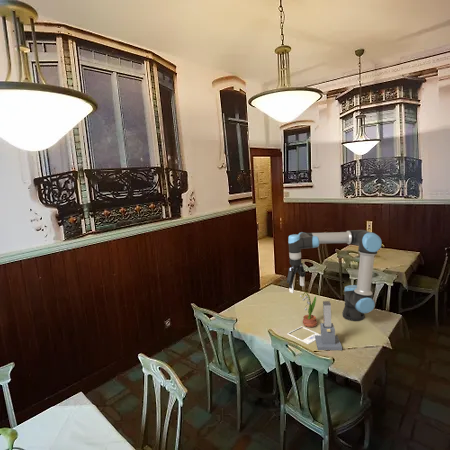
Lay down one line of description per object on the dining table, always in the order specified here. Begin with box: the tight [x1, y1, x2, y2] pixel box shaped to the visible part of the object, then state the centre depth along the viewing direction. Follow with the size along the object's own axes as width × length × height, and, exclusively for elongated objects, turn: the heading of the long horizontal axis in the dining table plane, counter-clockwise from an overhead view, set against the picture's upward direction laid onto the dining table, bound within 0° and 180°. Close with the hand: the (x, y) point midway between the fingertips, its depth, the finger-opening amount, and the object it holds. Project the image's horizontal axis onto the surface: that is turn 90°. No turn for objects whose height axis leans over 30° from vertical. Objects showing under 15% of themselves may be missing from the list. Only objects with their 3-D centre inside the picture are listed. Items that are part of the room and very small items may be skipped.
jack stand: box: [315, 322, 343, 351], centre depth 198 cm, size 14×14×12 cm
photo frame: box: [286, 325, 321, 345], centre depth 212 cm, size 15×1×18 cm
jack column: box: [322, 300, 332, 328], centre depth 197 cm, size 4×4×25 cm
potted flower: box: [299, 292, 318, 328], centre depth 223 cm, size 12×10×25 cm
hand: (297, 289), depth 213 cm, fingers open, 13 cm apart
